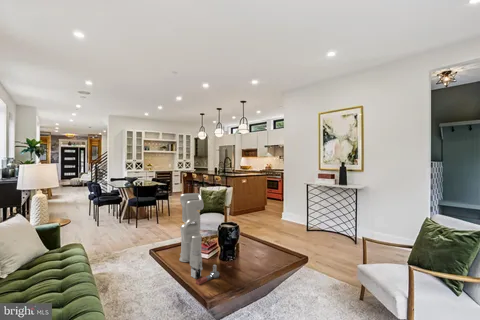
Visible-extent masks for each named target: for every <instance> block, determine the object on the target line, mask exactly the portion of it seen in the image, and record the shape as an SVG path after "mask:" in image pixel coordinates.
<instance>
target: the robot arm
mask: <svg viewBox="0 0 480 320" xmlns="http://www.w3.org/2000/svg"><path fill="white" fill-rule="evenodd" d="M179 200H180V205H181V208H182V209H181V210H182V212H181V214H182V216H181V218H182V219H181V220H182V222H183V223H184V224H182V225H181V226H180V229H179V231H180V237H181V238H180V239H181V241H180V244H181V245H180V246H181V247H180V249H181V250H180V253H179V255H180V257H179V260H178V261H179V262H182V263H189V266H190V269H191V268H195V269H197V278H196V279H199V278H201V276H200V271H201V272H202V271H203V269H204V267H203V258H202V234H201V233H200V232H201V213H200V211H202V210H203V209H204V200H203V198H202V195H201V193H198V192H197V193H195V192H194V193H182V194H180V196H179ZM198 269H199V270H198Z"/></svg>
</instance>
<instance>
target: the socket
mask: <svg viewBox="0 0 480 320" xmlns="http://www.w3.org/2000/svg"><path fill="white" fill-rule="evenodd" d="M198 270H199V269H198ZM201 276H202V270H201V271H200V277H201ZM190 277H192V278H193V279H196V280H197V279H198V278H197V269H195V268H191V267H190Z"/></svg>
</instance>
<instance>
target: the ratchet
mask: <svg viewBox="0 0 480 320" xmlns="http://www.w3.org/2000/svg"><path fill="white" fill-rule="evenodd" d="M219 277H220V272H219V271H217V265H216V264H212V271H210V272H209V275H206V276H202V277H199V278H197V279H196V280H195V284H196V285H198V286H200V285H202V284H204V283H206V282H209V280H210V281H211V280H212V279H218V278H219Z"/></svg>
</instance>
